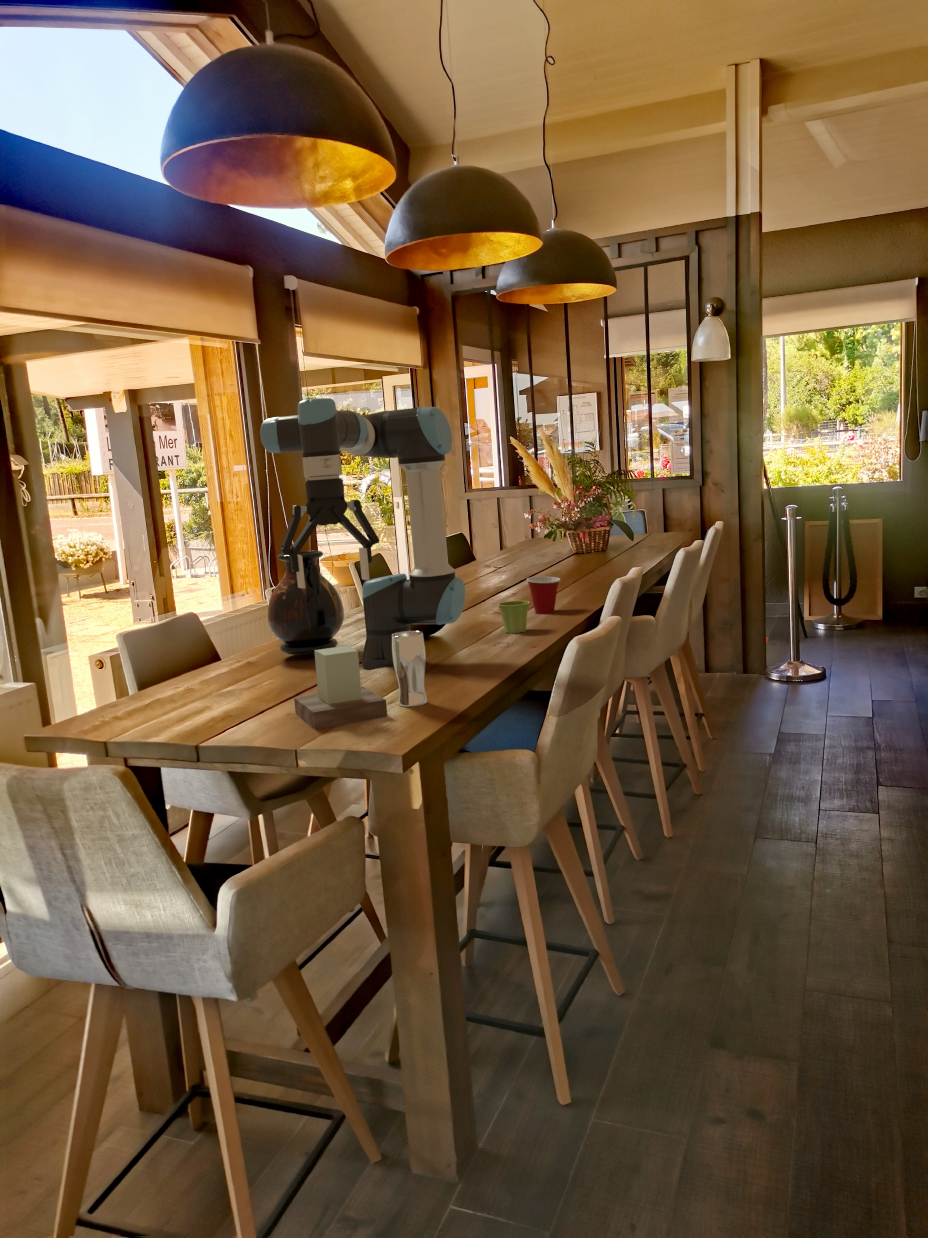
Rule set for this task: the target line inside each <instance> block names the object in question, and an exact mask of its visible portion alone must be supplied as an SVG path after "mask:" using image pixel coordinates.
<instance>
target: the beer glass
mask: <svg viewBox="0 0 928 1238" xmlns="http://www.w3.org/2000/svg"><path fill="white" fill-rule="evenodd" d="M424 638H425V637H424V633H423V631H420V630H411V631H404V632H398V633H394V634H392V658H393V664H394V666H393V668H394V670H395V675H396V679H397V683H398V702H397V704H398V706H400V707H404V708H415V707H421V706H424V705H426V704H427V703H428V699H427V698H428V697H427V695H426V690H425V673H426V659H427V658H426V647H425V639H424Z"/></svg>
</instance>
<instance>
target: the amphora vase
mask: <svg viewBox="0 0 928 1238" xmlns="http://www.w3.org/2000/svg"><path fill="white" fill-rule="evenodd" d="M298 555H301V556H302V560H303V570H304V580H305V588H303V589H301V588H298V582H297V573H296V572H292V570H291V562H290V556H289V555H288V554H284V553H280V554H278V555H277V556H276V557H277V560H278V561H282V562H284V566H285V569H284V570H285V573H284V575H283V577H282V578H281V579H280V580H279V583H278V584H277V585H276V587H275V588H274V589H273V591H272V593H271V596H270V598H269V602H268V605H267V606H268V607H267V622H268V626H269V628H270V630H271V632H272V634H274V636H275V637H276V638H277V639H278V640H280V641H281V642H282V644H280V646H279V650H280V652H282V654H283V653H284V654H286V655H297V656H298V655H300V656H302V655H313V654H314V655H315V651H314V650H320V649H327V648H334V647H338V645H339V643H338V642H339V641H338V640H337V639H336V638H335V636H336V635H337V634H338V632H339V631H340V630H341V628H342V626H343V623H344V619H345V613H344V612H345V611H344V606H343V602H342V599H341V597H340V594H339V593H338V591H337V590H336V588H335V587H334V585H333V584H332V583H331V582H330V581H329V580H328V579H327V578H326V577H325V576H324V575H323V574H322V573H321V572H320V571H319V567H318V559H319V558H321V557H322V556H324V553H323V551H322V550H300V552H299V553H298Z"/></svg>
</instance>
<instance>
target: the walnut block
mask: <svg viewBox="0 0 928 1238" xmlns="http://www.w3.org/2000/svg"><path fill="white" fill-rule="evenodd" d="M361 696H362V699H358V700H352V701H346V702H340V703H334V704H327V703H326V702H324V701H323V700H321V699H320V698H318V693H313V694H308V695H302V696H296V697H293V699H294V709H295V715H297V716H298V717H299V718H300V719H301V720H302V721H304V722H305V723H306V724H308V725H309V726H310V727H311V728H312V729H314V730H321V729H327V728H333V727H338V726H343V725H349V724H354V723H359V722H365V721H370V720H377V719H381V718H387V717H388V708H387V699H385V698H383V697H382V696H380V695H379V694H377V693H375V692H373V691H371V690H370V689H369V688H366V687H365V686H363V685H361Z"/></svg>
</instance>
